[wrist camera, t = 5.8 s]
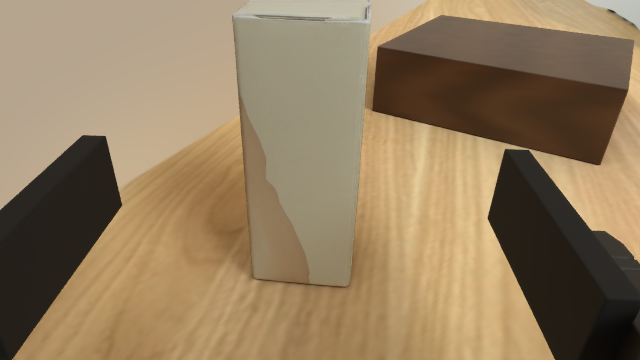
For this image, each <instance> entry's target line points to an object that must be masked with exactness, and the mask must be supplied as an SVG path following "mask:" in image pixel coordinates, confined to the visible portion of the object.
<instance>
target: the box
mask: <svg viewBox="0 0 640 360" xmlns="http://www.w3.org/2000/svg"><path fill="white" fill-rule="evenodd" d="M232 19H233V20H232V21H233V31H234V41H235V55H236V69H237V82H238V95H239V108H240V122H241V136H242V147H243V160H244V172H245V189H246V201H247V214H248V227H249V237H250V250H251V263H252V275H253V278H256V279H265V280H274V281H284V282H296V283H306V284H318V285H330V286H341V287H346V286H348V285H349V283H350V277H351V268H352V256H353V245H354V233H355V222H356V210H357V198H358V186H359V173H360V160H361V147H362V135H363V122H364V109H365V96H366V82H367V68H368V53H369V38H370V20H371V3H370V0H248V1H247V2H246V3H245V4H244V5H243V6H242V7H241V8H239V9H238V11H236V12H235V13H234V14H233V16H232Z"/></svg>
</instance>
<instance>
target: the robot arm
mask: <svg viewBox="0 0 640 360" xmlns="http://www.w3.org/2000/svg"><path fill="white" fill-rule="evenodd" d="M121 206H122V202H121V198H120V194H119V190H118V186H117V182H116V178H115V173H114V169H113V165H112V161H111V157H110V153H109V148H108V144H107V140H106V136H87V135H83V136H81V137H80V138H79V139H78V140H77V141H76V142H75V143H74V144H73V145H72V146H70V147H69V148H68V149H67V150H66V151H65V152H64V153H63V154H62V155H61V156H59V157H58V158H57V159H56V160H55V161H54V162H53V163H52V164H51V165H49V166H48V167H47V168H46V169H45V170H44V171H43V172H42V173H41V174H40V175H38V176H37V177H36V178H35V179H34V180H33V181H32V182H31V183H30V184H29V185H27V186H26V187H25V188H24V189H23V190H22V191H21V192H20V193H19V194H18V195H16V196H15V197H14V198H13V199H12V200H11V201H10V202H9V203H8V204H7V205H5V206H4V207H3V208H2V209H1V210H0V360H12V359H13V357H14V356H15V355H16V353H17V352H18V350H19V349H20V348H21V346H22V345H23V343H24V342H25V341H26V339H27V338H28V336H29V335H30V334H31V332H32V331H33V329H34V328H35V327H36V325H37V324H38V322H39V321H40V320H41V318H42V317H43V315H44V314H45V313H46V311H47V310H48V308H49V307H50V306H51V304H52V303H53V301H54V300H55V299H56V297H57V296H58V294H59V293H60V292H61V290H62V289H63V287H64V286H65V285H66V283H67V282H68V280H69V279H70V278H71V276H72V275H73V273H74V272H75V271H76V269H77V268H78V266H79V265H80V264H81V262H82V261H83V259H84V258H85V257H86V255H87V254H88V252H89V251H90V250H91V248H92V247H93V245H94V244H95V243H96V241H97V240H98V238H99V237H100V236H101V234H102V233H103V231H104V230H105V229H106V227H107V226H108V224H109V223H110V222H111V220H112V219H113V217H114V216H115V215H116V213H117V212H118V210H119V209H120V208H121ZM488 220H489V222H490V225H491V227H492V229H493V231H494V233H495V235H496V237H497V239H498V241H499V243H500V245H501V248H502V250H503V252H504V254H505V256H506V258H507V260H508V262H509V264H510V266H511V268H512V271H513V273H514V275H515V277H516V279H517V281H518V283H519V285H520V287H521V289H522V291H523V294H524V296H525V298H526V300H527V302H528V304H529V306H530V308H531V310H532V312H533V315H534V317H535V319H536V321H537V323H538V325H539V327H540V329H541V331H542V333H543V335H544V338H545V340H546V342H547V344H548V346H549V348H550V350H551V352H552V354H553V356H554V358H555V360H640V264H639V262H638V261H637V260H634V256H633V255H632V254H631V253H630V252H629V250H628V249H627V248H626V247H625V246H624V244H623V243H621V242H620V241H618V240H617V239H615V238H614V237H613V236H611V235H610V234H608V233H607V232H605V231H591V230H590V228H589V227H588V226H587V224H586V223H585V222H584V221H583V219H582V218H581V217H580V215H579V214H578V213H577V212H576V210H575V209H574V208H573V206H572V205H571V204H570V203H569V201H568V200H567V199H566V197H565V196H564V195H563V194H562V192H561V191H560V190H559V188H558V187H557V186H556V185H555V183H554V182H553V181H552V179H551V178H550V177H549V176H548V174H547V173H546V172H545V170H544V169H543V168H542V167H541V165H540V164H539V163H538V161H537V160H536V159H535V158H534V156H533V155H532V154H531V152H530V151H529V150H513V149H505V151H504V155H503V159H502V163H501V167H500V171H499V175H498V179H497V183H496V187H495V191H494V195H493V199H492V203H491V207H490V211H489V215H488Z"/></svg>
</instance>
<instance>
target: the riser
mask: <svg viewBox="0 0 640 360" xmlns="http://www.w3.org/2000/svg"><path fill="white" fill-rule="evenodd" d="M633 47H634V40H629V39H621V38H613V37H606V36H598V35H590V34H583V33H575V32H567V31H560V30H552V29H544V28H537V27H529V26H521V25H514V24H506V23H498V22H491V21H483V20H475V19H468V18H460V17H452V16H445V15H441V16H439V17H437V18H435V19H432V20H430V21H428V22H426V23H424V24H422V25H420V26H418V27H416V28H414V29H412V30H410V31H408V32H406V33H404V34H402V35H400V36H398V37H396V38H394V39H392V40H390V41H388V42H386V43H384V44H382V45H380V46H378V49H377V61H376V73H375V85H374V97H373V109H372V110H373V111H378V112H382V113H386V114H390V115H394V116H398V117H403V118H407V119H411V120H415V121H419V122H423V123H427V124H432V125H436V126H440V127H444V128H448V129H452V130H457V131H461V132H465V133H469V134H473V135H477V136H481V137H486V138H490V139H494V140H498V141H502V142H506V143H511V144H515V145H519V146H523V147H527V148H531V149H535V150H540V151H544V152H548V153H552V154H556V155H560V156H565V157H569V158H573V159H577V160H581V161H585V162H589V163H594V164H598V165H600V164H601V161H602V159H603V156H604V153H605V151H606V148H607V145H608V143H609V140H610V138H611V135H612V132H613V130H614V127H615V124H616V122H617V119H618V116H619V114H620V111H621V108H622V106H623V103H624V100H625V98H626V95H627V92H628V89H629V80H630V72H631V64H632V55H633Z"/></svg>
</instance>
